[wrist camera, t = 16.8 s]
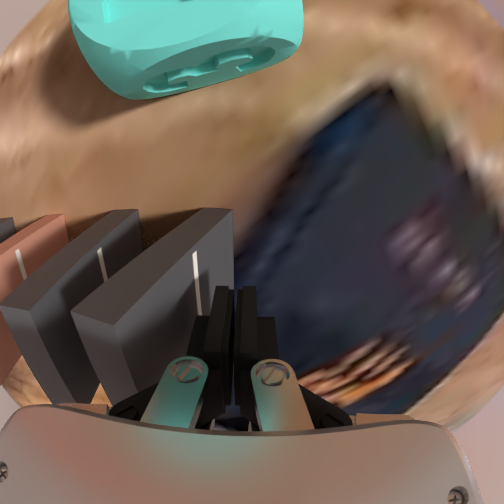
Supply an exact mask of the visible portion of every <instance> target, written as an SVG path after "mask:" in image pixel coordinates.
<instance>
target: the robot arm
mask: <svg viewBox="0 0 504 504" xmlns="http://www.w3.org/2000/svg"><path fill="white" fill-rule="evenodd" d="M233 363H234V387H235V406H240V414H241V415H243V416H244V417H245V418H246V419H248V420H249V421H250V431H220V430H213V428H214V424H215V418H216V417H218V416H219V415H221V414H222V413H225V408H226V405H231V395H232V379H233ZM0 504H484V503H483V500H482V497H481V494H480V491H479V488H478V485H477V482H476V479H475V476H474V474H473V471H472V469H471V467H470V464H469V462H468V460H467V458H466V455H465V454H464V452H463V450H462V448H461V446H460V445H459V443H458V441H457V440H456V438H455V437H454V436H453V434H452V433H451V432H450V431H449V430H448V429H447V428H445V427H444V426H442V425H440V424H436V423H433V422H428V421H420V420H415V419H414V418H412V417H410V416H408V415H385V414H359V413H356V415H355V416H349V415H348V414H347V413H346V412H344V411H343V410H341V409H340V408H338V407H336V406H334V405H333V404H331V403H329V402H328V401H326V400H324V399H322V398H321V397H319V396H317V395H316V394H314V393H312V392H311V391H309V390H308V389H306V388H304V387H303V386H301V385H300V384H298V382H297V379H296V376H295V373H294V371H293V369H292V367H291V366H290V365H289V364H287V363H286V362H284V361H281V360H279V355H278V346H277V337H276V327H275V319H274V317H257V304H256V286H243V290H241V289H238V295H237V309H236V323H234V289H229V286H216V287H215V292H214V297H213V302H212V307H211V312H210V316H206V315H197V316H196V318H195V321H194V325H193V329H192V333H191V337H190V341H189V345H188V349H187V353H186V356H185V357H180V358H177V359H175V360H174V361H172V362H171V363H170V364H169V365H168V367H167V368H166V370H165V372H164V374H163V376H162V378H161V380H160V382H158V383H156V384H154V385H152V386H150V387H148V388H146V389H144V390H142V391H140V392H138V393H136V394H134V395H132V396H130V397H128V398H126V399H124V400H122V401H120V402H118V403H117V404H115V405H114V406H113V407H108V405H107V404H81V403H59V404H57V405H52V404H36V405H28V406H24V407H22V408H20V409H18V410H17V411H16V412H14V413H13V414H12V416H11V417H10V418H9V419H8V421H7V422H6V424H5V425H4V427H3V428H2V430H1V432H0Z"/></svg>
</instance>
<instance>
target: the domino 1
mask: <svg viewBox="0 0 504 504" xmlns="http://www.w3.org/2000/svg"><path fill="white" fill-rule="evenodd" d="M68 243H69V238H68V233H67V228H66V222H65V217H64V214H55V215H46V216H44V217H42V218H41V219H39V220H37V221H36V222H34V223H32V224H31V225H29V226H27V227H26V228H24V229H22V230H21V231H19V232H18V233H16V234H15V235H13V236H11V237H10V238H8V239H7V240H5V241H4V242H2V243H1V244H0V303H1V302H2V301H3V300H4V299H5V298H6V297H7V296H8V295H9V294H10V293H11V292H12V291H13V290H14V289H16V288H17V287H18V286H19V285H20V284H21V283H22V282H23V281H24V280H25V279H27V278H28V277H29V276H30V275H31V274H32V273H33V272H34V271H36V270H37V269H38V268H39V267H40V266H41V265H43V264H44V263H45V262H46V261H47V260H48V259H50V258H51V257H52V256H53V255H55V254H56V253H57V252H58V251H59V250H61V249H62V248H63V247H64V246H66V245H67V244H68ZM21 356H22V353H21V352H20V350H19V348H18V346H17V344H16V342H15V340H14V338H13V336H12V334H11V332H10V330H9V328H8V325H7V323H6V321H5V319H4V317H3V314H2V312H1V310H0V385H1V384H2V383H3V381H4V380H5V378H6V377H7V375H8V374H9V372H10V371H11V369H12V368H13V367H14V365H15V364H16V362H17V361H18V360H19V358H20V357H21Z"/></svg>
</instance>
